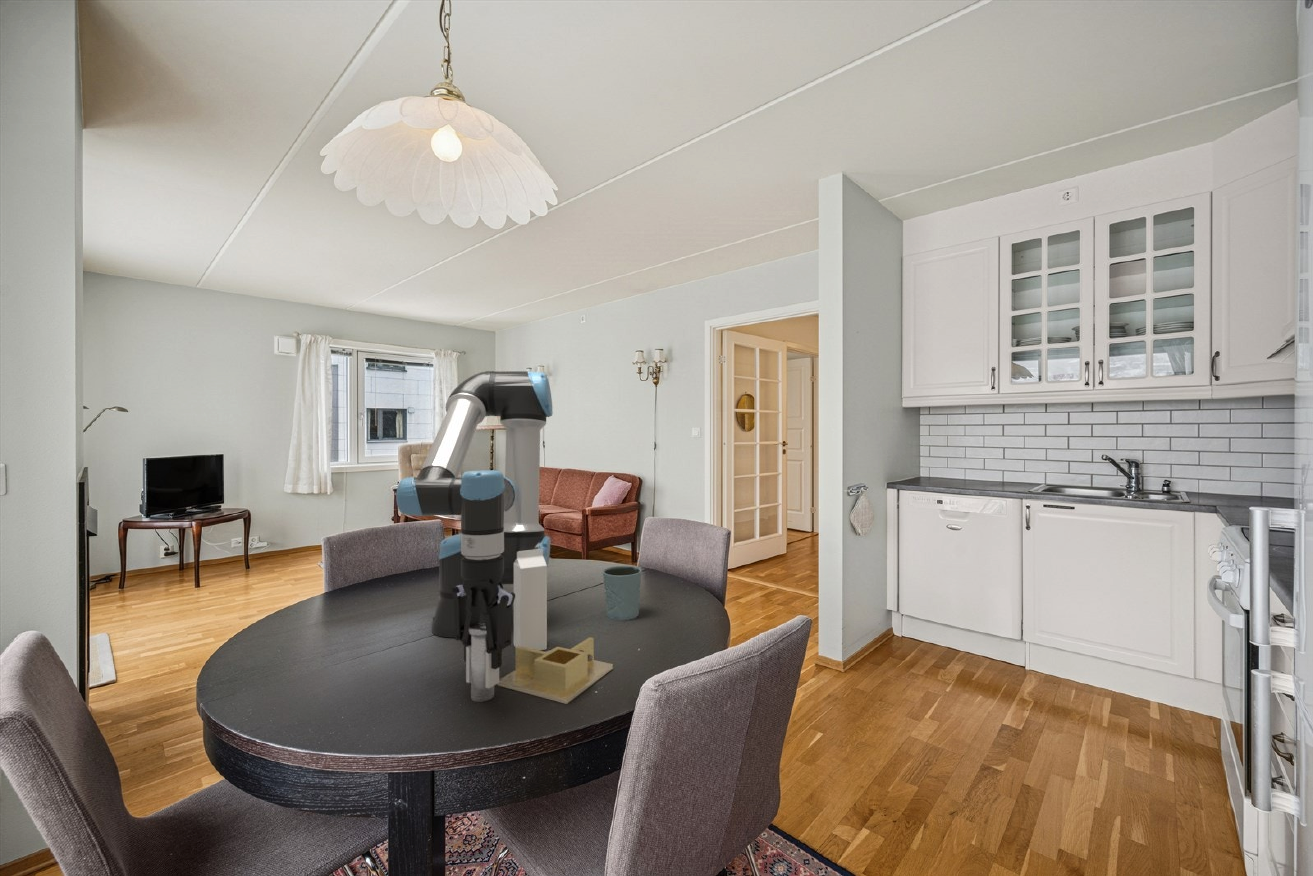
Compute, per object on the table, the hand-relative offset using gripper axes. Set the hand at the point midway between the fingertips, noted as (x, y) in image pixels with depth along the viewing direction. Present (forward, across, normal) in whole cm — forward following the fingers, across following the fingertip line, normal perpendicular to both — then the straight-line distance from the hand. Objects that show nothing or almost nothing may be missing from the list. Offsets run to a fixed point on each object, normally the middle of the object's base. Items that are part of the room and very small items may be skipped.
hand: (482, 682), depth 99 cm
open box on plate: (+3, +7, +13) cm, 15 cm away
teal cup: (+3, +1, +50) cm, 50 cm away
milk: (+3, -7, +22) cm, 23 cm away
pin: (+3, 0, 0) cm, 3 cm away
